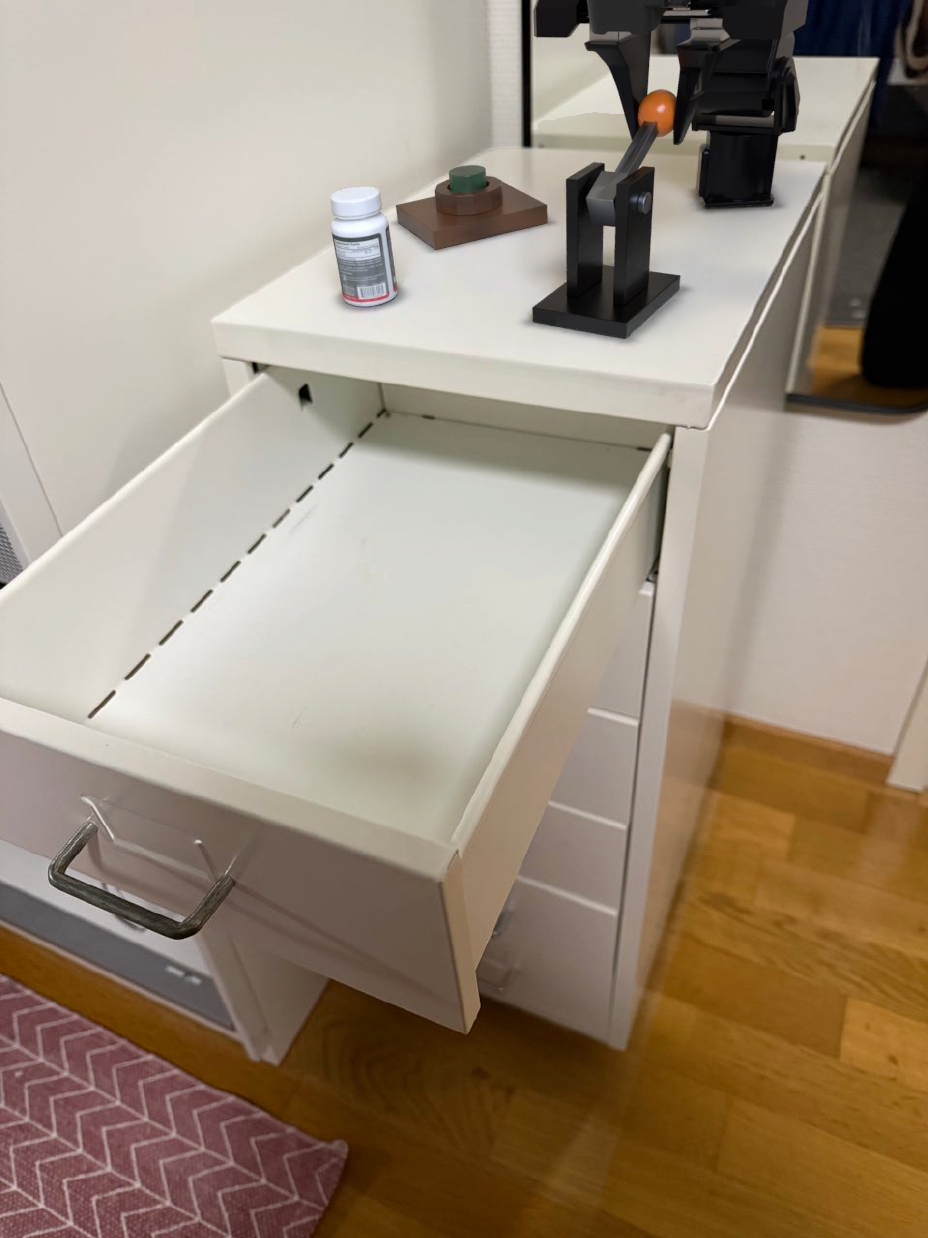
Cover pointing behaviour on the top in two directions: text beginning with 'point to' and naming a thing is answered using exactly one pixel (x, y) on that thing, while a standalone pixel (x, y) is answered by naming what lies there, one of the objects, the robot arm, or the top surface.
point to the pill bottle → (363, 247)
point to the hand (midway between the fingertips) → (657, 142)
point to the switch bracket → (606, 291)
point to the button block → (470, 213)
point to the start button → (467, 178)
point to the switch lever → (632, 154)
